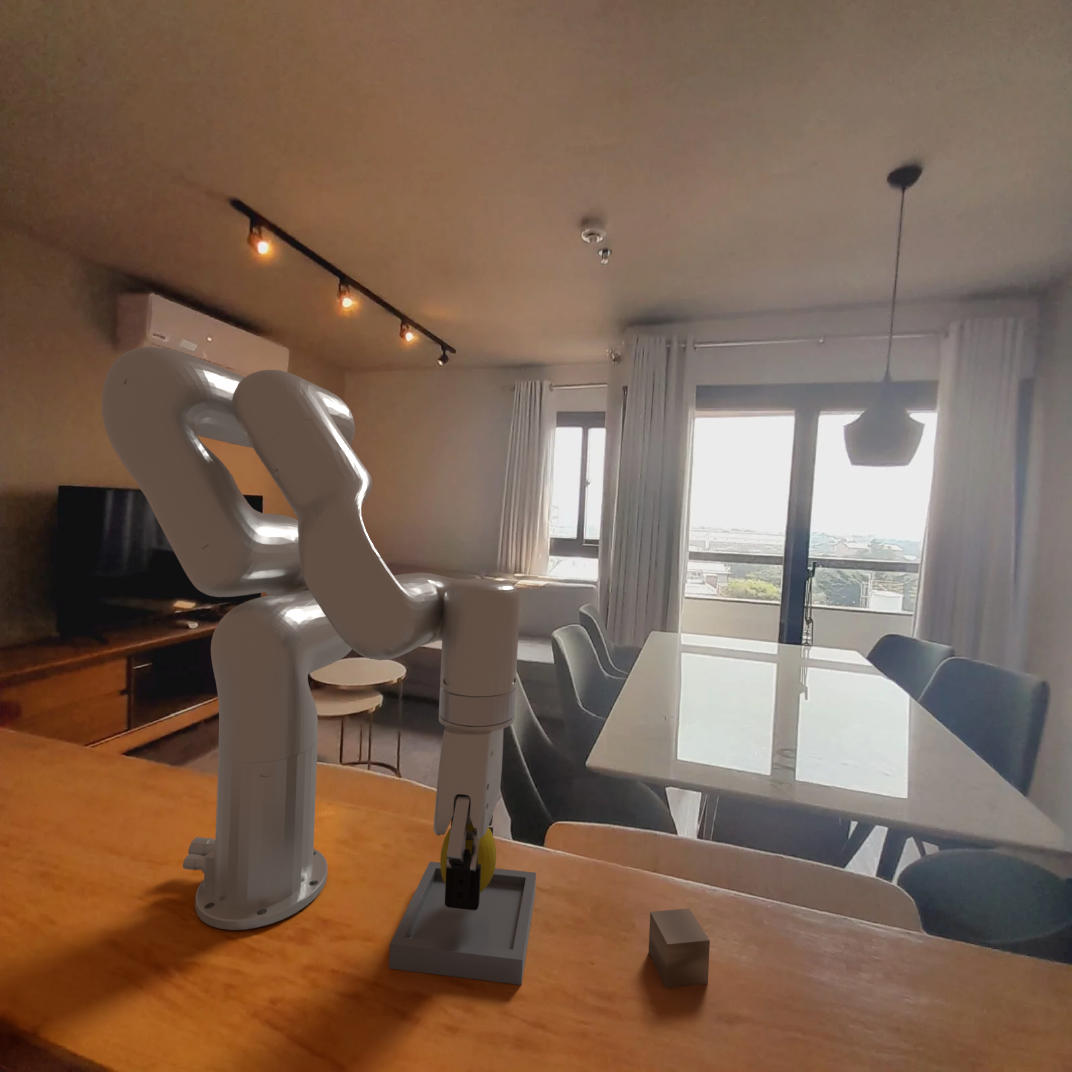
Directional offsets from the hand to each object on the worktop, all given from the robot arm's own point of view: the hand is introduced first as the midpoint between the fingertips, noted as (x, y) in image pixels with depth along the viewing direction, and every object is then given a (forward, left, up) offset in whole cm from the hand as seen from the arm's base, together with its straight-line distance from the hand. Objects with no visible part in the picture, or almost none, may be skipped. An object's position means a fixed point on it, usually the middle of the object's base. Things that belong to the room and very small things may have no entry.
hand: (469, 882), depth 53 cm
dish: (0, 0, -4) cm, 4 cm away
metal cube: (+20, -2, -4) cm, 21 cm away
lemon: (0, 0, -2) cm, 2 cm away
